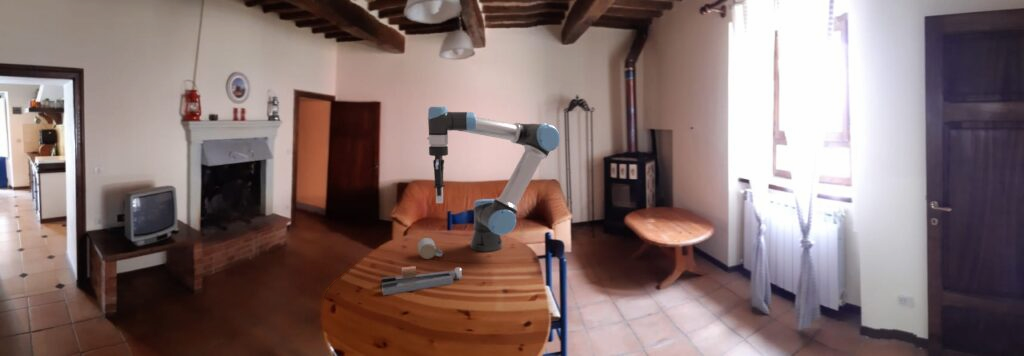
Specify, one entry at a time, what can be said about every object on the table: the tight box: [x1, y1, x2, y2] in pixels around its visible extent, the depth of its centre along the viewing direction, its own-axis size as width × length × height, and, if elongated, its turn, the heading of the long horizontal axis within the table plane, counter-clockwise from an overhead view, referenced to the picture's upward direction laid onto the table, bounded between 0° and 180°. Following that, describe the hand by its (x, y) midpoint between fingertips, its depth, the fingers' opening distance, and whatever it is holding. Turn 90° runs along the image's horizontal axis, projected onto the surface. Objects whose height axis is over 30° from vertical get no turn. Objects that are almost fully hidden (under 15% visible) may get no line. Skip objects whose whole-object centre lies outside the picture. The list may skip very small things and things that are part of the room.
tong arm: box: [380, 265, 463, 288], centre depth 151 cm, size 29×6×5 cm, turn 108°
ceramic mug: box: [417, 237, 444, 260], centre depth 179 cm, size 11×8×8 cm
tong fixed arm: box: [381, 275, 454, 296], centre depth 146 cm, size 25×4×3 cm, turn 115°
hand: (439, 202), depth 166 cm, fingers closed
